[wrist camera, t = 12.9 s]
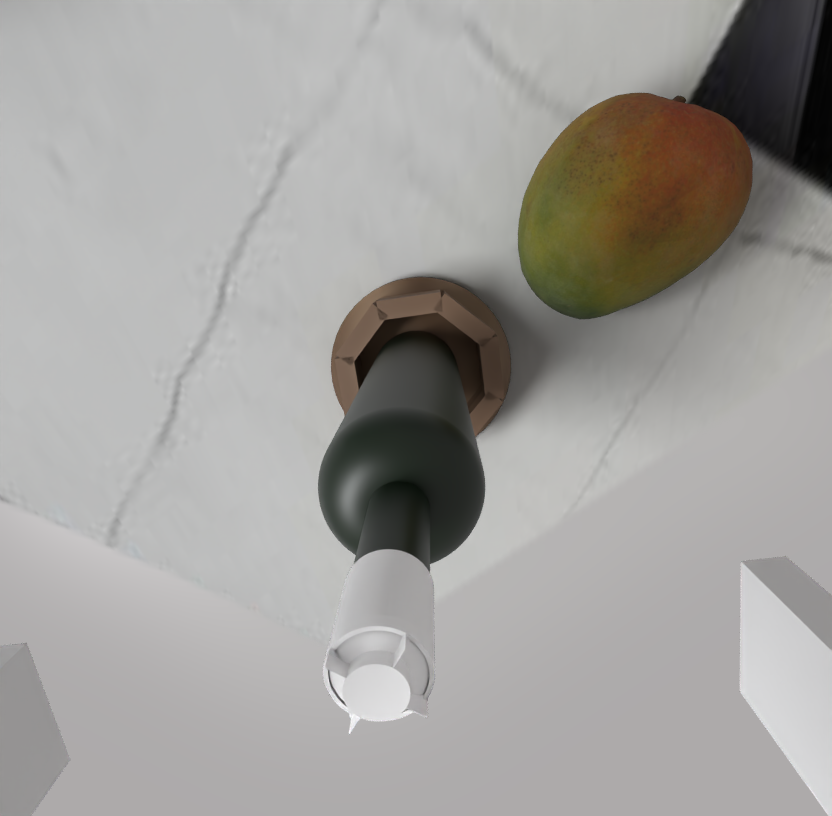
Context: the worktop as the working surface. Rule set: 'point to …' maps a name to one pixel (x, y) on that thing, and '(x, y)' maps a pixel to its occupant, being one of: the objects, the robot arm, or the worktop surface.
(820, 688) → the robot arm
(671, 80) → the worktop surface
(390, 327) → the bowl
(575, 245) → the fruit
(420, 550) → the wine bottle
